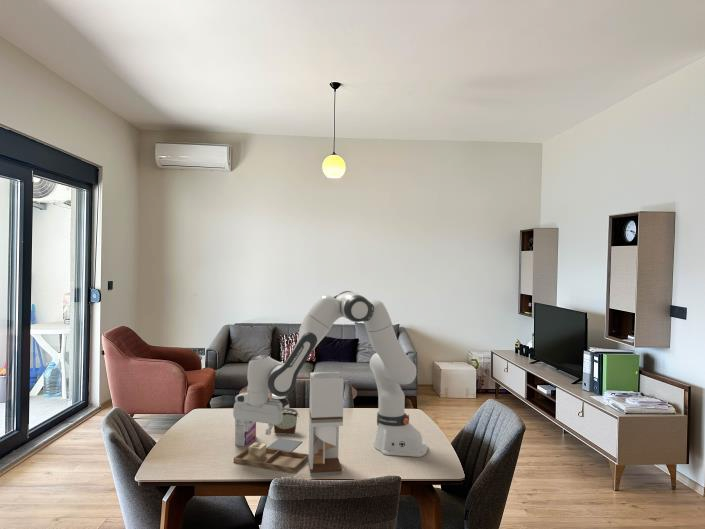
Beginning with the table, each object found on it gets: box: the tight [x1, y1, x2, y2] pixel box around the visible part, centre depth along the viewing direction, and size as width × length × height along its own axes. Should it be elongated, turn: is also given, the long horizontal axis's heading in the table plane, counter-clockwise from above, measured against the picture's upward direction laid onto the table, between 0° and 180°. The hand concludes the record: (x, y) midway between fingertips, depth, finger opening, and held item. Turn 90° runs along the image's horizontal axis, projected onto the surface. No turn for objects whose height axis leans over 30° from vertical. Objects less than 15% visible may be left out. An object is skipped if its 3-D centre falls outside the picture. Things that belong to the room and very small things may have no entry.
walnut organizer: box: [233, 446, 309, 474], centre depth 174 cm, size 26×13×2 cm, turn 72°
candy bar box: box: [234, 418, 257, 447], centre depth 194 cm, size 11×5×16 cm, turn 168°
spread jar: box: [270, 393, 290, 408], centre depth 228 cm, size 12×11×12 cm
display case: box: [307, 371, 345, 477], centre depth 169 cm, size 11×11×35 cm
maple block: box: [248, 441, 267, 462], centre depth 176 cm, size 5×5×5 cm
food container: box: [273, 407, 300, 435], centre depth 206 cm, size 12×6×10 cm, turn 84°
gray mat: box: [266, 437, 303, 452], centre depth 189 cm, size 11×11×1 cm
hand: (257, 432), depth 176 cm, fingers open, 8 cm apart
